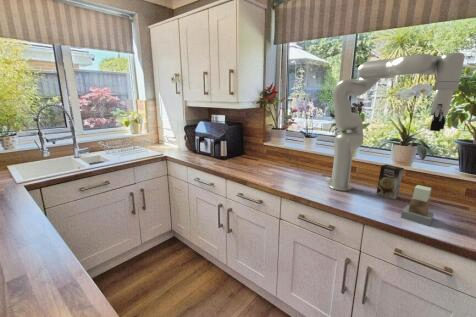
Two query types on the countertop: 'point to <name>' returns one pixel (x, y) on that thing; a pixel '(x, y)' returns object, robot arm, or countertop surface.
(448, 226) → the countertop surface
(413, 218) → the plinth
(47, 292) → the countertop surface
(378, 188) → the coffee box
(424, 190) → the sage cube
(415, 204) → the walnut block
